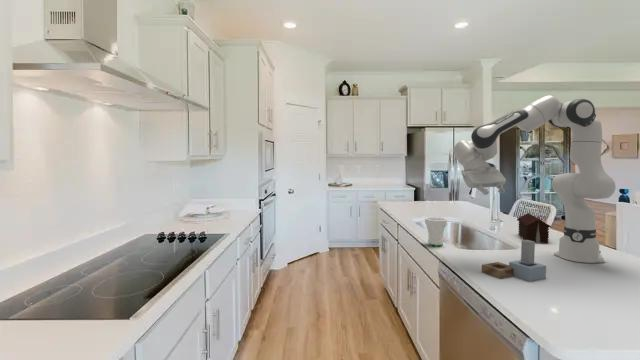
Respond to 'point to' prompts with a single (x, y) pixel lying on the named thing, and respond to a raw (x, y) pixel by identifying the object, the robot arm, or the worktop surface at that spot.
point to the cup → (435, 230)
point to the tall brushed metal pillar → (527, 252)
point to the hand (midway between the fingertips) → (494, 193)
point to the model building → (533, 229)
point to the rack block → (528, 271)
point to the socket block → (498, 270)
